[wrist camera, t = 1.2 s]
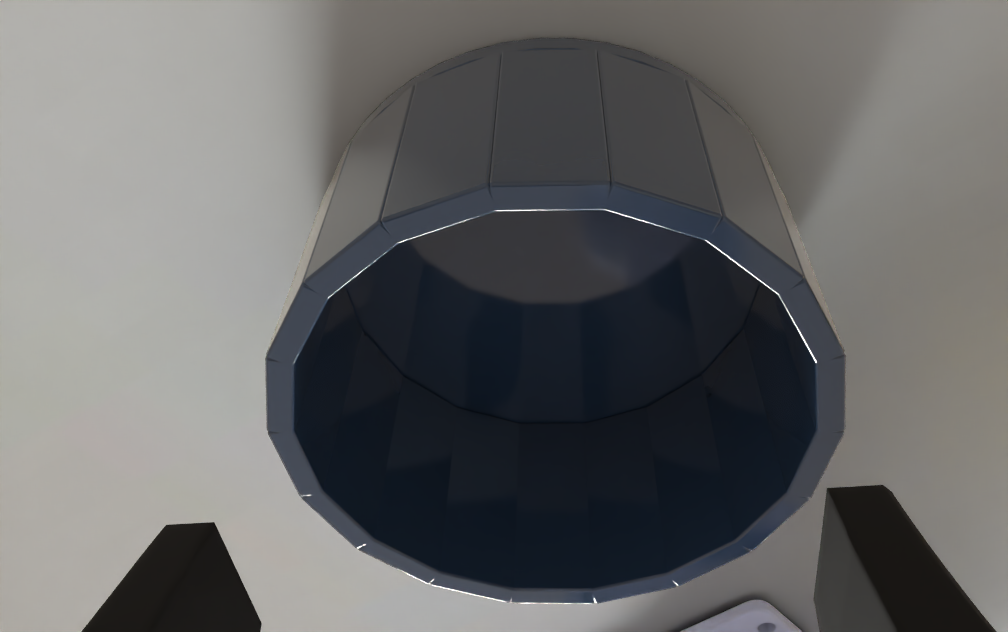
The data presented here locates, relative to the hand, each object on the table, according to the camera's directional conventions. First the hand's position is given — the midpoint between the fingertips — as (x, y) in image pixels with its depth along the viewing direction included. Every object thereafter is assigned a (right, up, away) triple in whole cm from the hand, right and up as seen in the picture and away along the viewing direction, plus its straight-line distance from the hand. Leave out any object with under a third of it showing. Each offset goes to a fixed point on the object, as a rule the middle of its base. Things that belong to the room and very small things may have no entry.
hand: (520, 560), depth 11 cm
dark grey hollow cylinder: (+1, +4, +10) cm, 11 cm away
